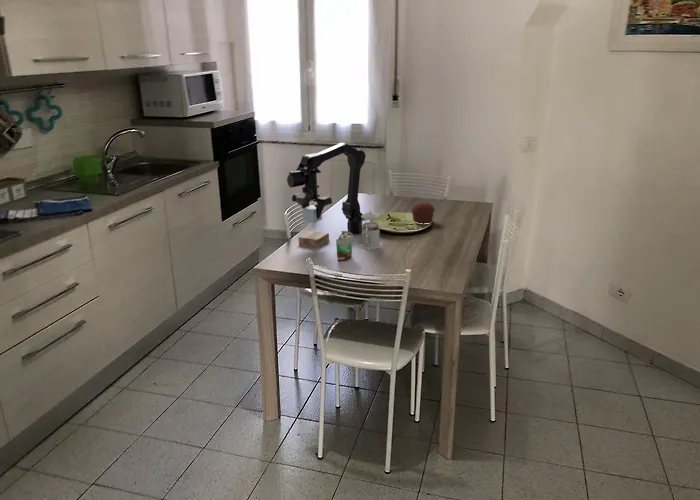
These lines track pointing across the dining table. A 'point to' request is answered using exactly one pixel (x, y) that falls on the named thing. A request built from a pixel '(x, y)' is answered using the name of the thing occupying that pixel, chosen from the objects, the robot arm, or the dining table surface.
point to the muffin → (422, 212)
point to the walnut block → (313, 239)
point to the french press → (370, 231)
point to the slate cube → (310, 214)
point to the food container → (344, 246)
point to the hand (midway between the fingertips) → (312, 217)
